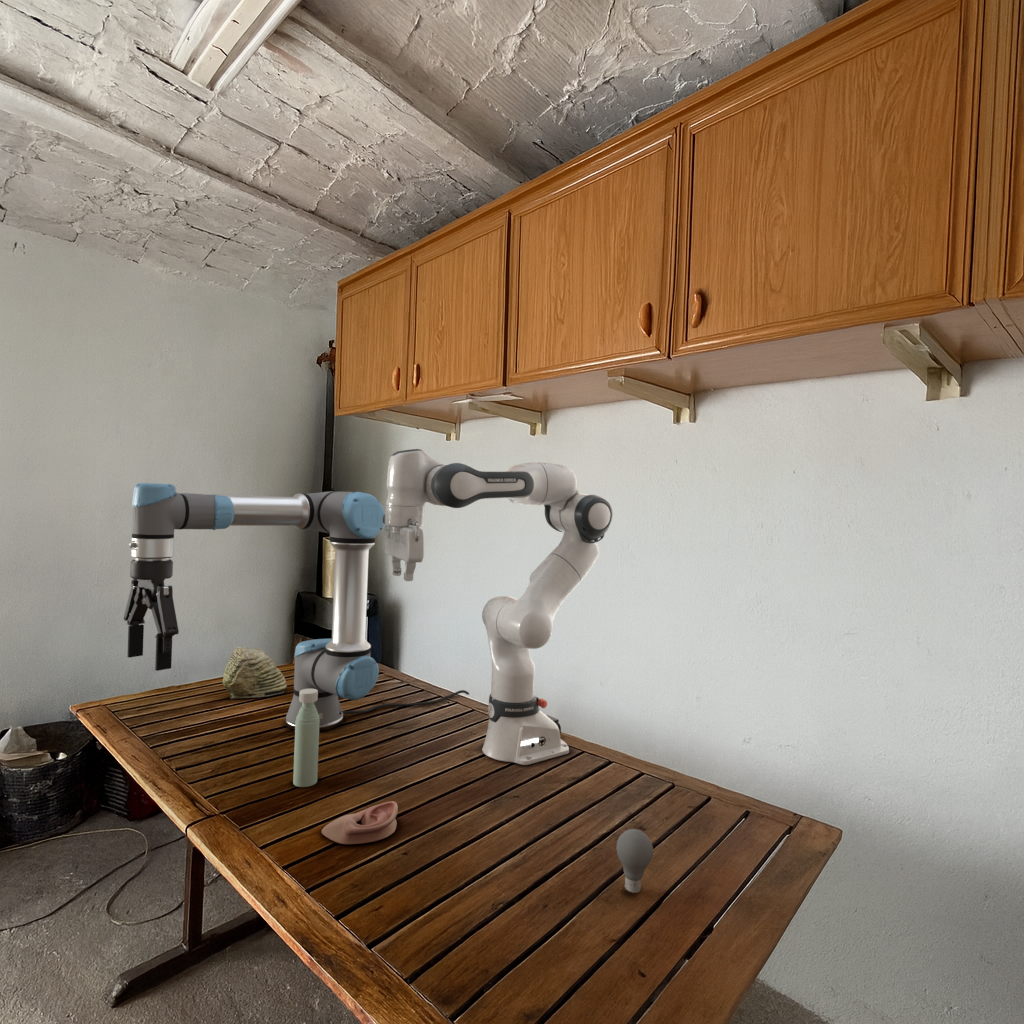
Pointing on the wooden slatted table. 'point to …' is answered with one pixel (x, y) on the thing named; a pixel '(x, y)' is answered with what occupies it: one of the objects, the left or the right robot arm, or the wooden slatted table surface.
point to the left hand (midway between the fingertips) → (148, 662)
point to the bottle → (306, 746)
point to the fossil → (252, 674)
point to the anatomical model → (364, 825)
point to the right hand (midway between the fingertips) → (402, 578)
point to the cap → (308, 695)
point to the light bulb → (634, 857)
